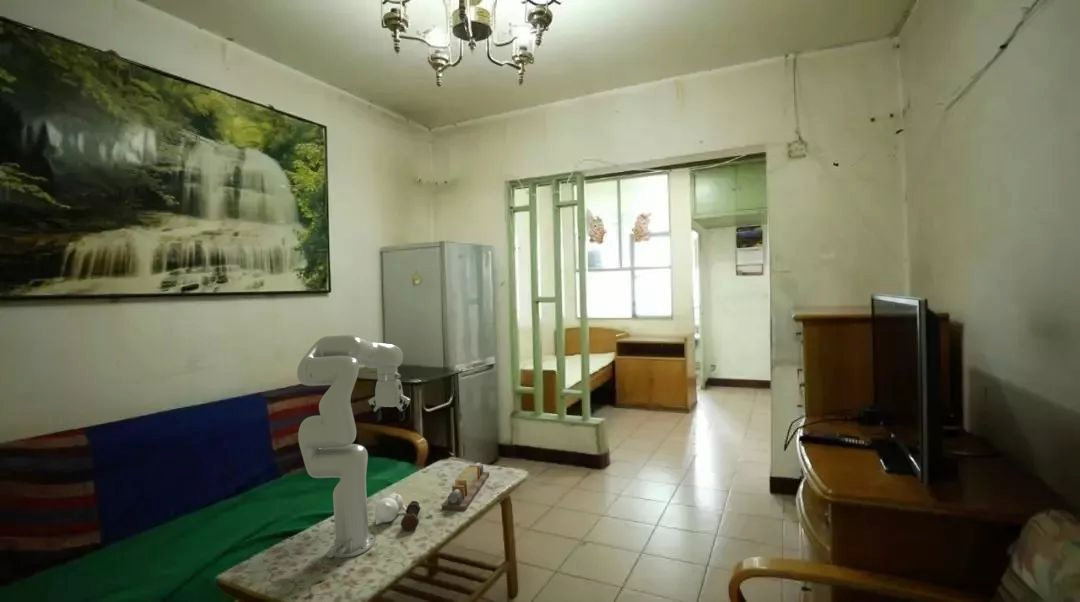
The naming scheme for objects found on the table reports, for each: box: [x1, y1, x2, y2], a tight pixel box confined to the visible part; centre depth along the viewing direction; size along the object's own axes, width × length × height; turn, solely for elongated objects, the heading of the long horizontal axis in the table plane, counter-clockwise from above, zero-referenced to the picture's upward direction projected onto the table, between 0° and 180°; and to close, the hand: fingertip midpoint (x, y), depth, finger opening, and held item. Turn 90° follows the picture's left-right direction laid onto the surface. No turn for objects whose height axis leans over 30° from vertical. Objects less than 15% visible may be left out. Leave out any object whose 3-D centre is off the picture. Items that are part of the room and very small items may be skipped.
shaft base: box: [441, 462, 490, 511], centre depth 175 cm, size 30×9×6 cm, turn 171°
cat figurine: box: [374, 491, 407, 525], centre depth 156 cm, size 9×11×12 cm
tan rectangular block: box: [454, 466, 478, 495], centre depth 174 cm, size 4×13×6 cm, turn 170°
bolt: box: [400, 500, 422, 532], centre depth 154 cm, size 6×5×15 cm
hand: (390, 420), depth 177 cm, fingers open, 9 cm apart
